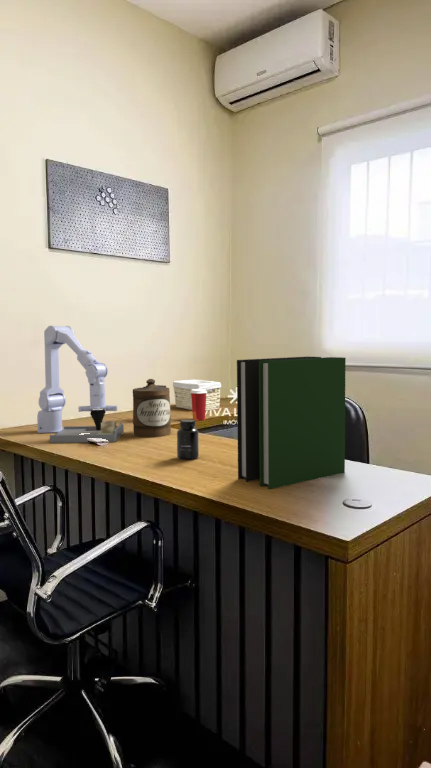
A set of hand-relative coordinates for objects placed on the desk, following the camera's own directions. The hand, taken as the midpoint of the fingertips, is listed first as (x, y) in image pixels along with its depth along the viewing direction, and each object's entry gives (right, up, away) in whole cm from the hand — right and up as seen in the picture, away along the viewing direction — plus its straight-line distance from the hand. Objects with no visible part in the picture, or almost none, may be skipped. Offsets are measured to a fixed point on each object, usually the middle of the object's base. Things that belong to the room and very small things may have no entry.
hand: (98, 429), depth 206 cm
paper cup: (+38, +1, +41) cm, 55 cm away
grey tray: (-4, -3, 0) cm, 5 cm away
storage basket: (+35, +4, +80) cm, 88 cm away
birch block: (+4, -1, 0) cm, 4 cm away
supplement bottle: (+37, -6, -37) cm, 53 cm away
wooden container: (+20, -2, +6) cm, 21 cm away
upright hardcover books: (+66, -8, -60) cm, 89 cm away
